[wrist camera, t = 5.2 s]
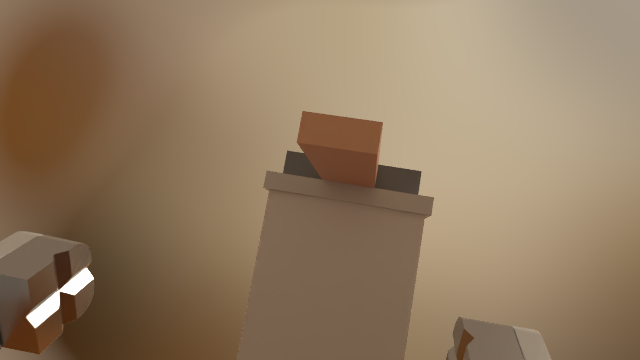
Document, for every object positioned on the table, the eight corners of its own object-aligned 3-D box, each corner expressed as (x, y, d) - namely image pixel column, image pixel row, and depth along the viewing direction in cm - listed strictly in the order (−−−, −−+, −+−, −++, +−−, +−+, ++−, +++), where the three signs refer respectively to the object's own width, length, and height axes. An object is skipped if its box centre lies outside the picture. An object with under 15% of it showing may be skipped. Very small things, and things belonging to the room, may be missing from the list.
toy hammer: (448, 164, 16) (453, 124, 16) (232, 132, 17) (240, 94, 17) (406, 208, 34) (409, 189, 34) (302, 191, 35) (305, 172, 35)
